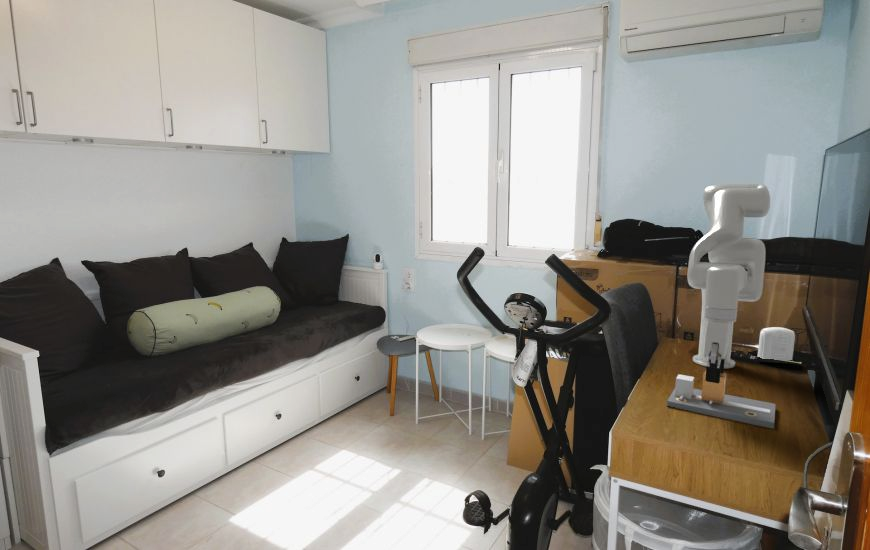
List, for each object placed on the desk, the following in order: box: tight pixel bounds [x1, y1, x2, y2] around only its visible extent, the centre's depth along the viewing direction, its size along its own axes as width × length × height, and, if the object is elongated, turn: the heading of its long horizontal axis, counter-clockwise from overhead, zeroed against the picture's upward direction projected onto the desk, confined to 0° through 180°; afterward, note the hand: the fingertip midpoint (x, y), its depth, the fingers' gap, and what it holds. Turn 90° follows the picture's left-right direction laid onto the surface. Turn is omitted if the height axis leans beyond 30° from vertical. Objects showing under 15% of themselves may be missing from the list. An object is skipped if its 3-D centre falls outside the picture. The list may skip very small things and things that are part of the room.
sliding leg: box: [701, 369, 727, 404], centre depth 135 cm, size 7×5×7 cm
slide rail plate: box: [666, 374, 776, 430], centre depth 136 cm, size 14×24×6 cm, turn 56°
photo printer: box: [757, 326, 796, 361], centre depth 172 cm, size 10×4×12 cm, turn 81°
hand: (714, 377), depth 136 cm, fingers open, 9 cm apart
